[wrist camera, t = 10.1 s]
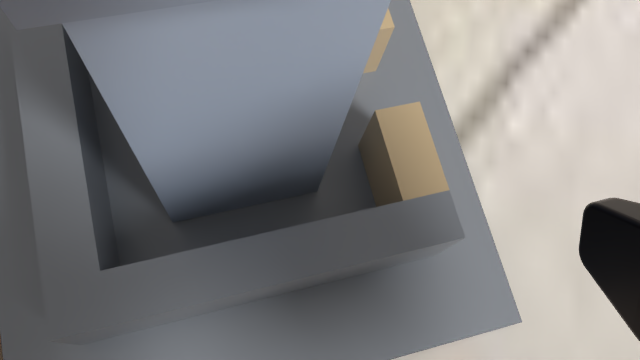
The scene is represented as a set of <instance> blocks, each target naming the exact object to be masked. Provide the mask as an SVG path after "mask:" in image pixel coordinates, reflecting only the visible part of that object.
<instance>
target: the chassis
mask: <svg viewBox="0 0 640 360" xmlns="http://www.w3.org/2000/svg"><path fill="white" fill-rule="evenodd" d="M521 322H522V320H521V317H520V314H519V312H518V309H517V306H516V303H515V300H514V297H513V294H512V292H511V289H510V286H509V283H508V280H507V277H506V274H505V272H504V269H503V266H502V263H501V260H500V257H499V254H498V252H497V249H496V246H495V243H494V240H493V237H492V234H491V232H490V229H489V226H488V223H487V220H486V217H485V214H484V212H483V209H482V206H481V203H480V200H479V197H478V194H477V192H476V189H475V186H474V183H473V180H472V177H471V174H470V172H469V169H468V166H467V163H466V160H465V157H464V154H463V152H462V149H461V146H460V143H459V140H458V137H457V134H456V132H455V129H454V126H453V123H452V120H451V117H450V114H449V112H448V109H447V106H446V103H445V100H444V97H443V94H442V91H441V89H440V86H439V83H438V80H437V77H436V74H435V71H434V69H433V66H432V63H431V60H430V57H429V54H428V51H427V49H426V46H425V43H424V40H423V37H422V34H421V31H420V29H419V26H418V23H417V20H416V17H415V14H414V11H413V9H412V6H411V3H410V0H391V1H390V4H389V7H388V9H387V12H386V14H385V17H384V20H383V22H382V25H381V27H380V30H379V33H378V35H377V38H376V40H375V43H374V46H373V48H372V51H371V53H370V56H369V59H368V61H367V64H366V66H365V69H364V72H363V74H362V77H361V79H360V82H359V85H358V87H357V90H356V92H355V95H354V98H353V100H352V103H351V105H350V108H349V111H348V113H347V116H346V118H345V121H344V124H343V126H342V129H341V131H340V134H339V137H338V139H337V142H336V144H335V147H334V150H333V152H332V155H331V157H330V160H329V163H328V165H327V168H326V170H325V173H324V176H323V178H322V181H321V183H320V186H319V188H318V191H317V192H313V193H308V194H303V195H299V196H294V197H290V198H285V199H280V200H276V201H271V202H266V203H262V204H257V205H252V206H248V207H243V208H238V209H234V210H229V211H225V212H220V213H215V214H211V215H206V216H201V217H197V218H192V219H187V220H183V221H178V222H172V221H171V219H170V217H169V215H168V213H167V212H166V210H165V208H164V206H163V204H162V203H161V201H160V199H159V197H158V195H157V194H156V192H155V190H154V188H153V186H152V185H151V183H150V181H149V179H148V177H147V176H146V174H145V172H144V170H143V168H142V167H141V165H140V163H139V161H138V159H137V158H136V156H135V154H134V152H133V150H132V149H131V147H130V145H129V143H128V141H127V140H126V138H125V136H124V134H123V132H122V131H121V129H120V127H119V125H118V123H117V122H116V120H115V118H114V116H113V115H112V113H111V111H110V109H109V107H108V106H107V104H106V102H105V100H104V98H103V97H102V95H101V93H100V91H99V89H98V88H97V86H96V84H95V82H94V80H93V79H92V77H91V75H90V73H89V71H88V70H87V68H86V66H85V64H84V62H83V61H82V59H81V57H80V55H79V53H78V52H77V50H76V48H75V46H74V44H73V43H72V41H71V39H70V37H69V35H68V34H67V32H66V30H65V28H64V26H63V25H62V24H55V25H48V26H41V27H35V28H28V29H21V30H16V28H15V27H14V26H13V24H12V23H11V21H10V20H9V19H8V17H7V16H6V14H5V13H4V11H3V10H2V9H1V7H0V335H1V344H2V354H3V360H391V359H394V358H398V357H401V356H405V355H408V354H412V353H415V352H419V351H422V350H426V349H429V348H433V347H436V346H440V345H443V344H447V343H450V342H454V341H457V340H461V339H464V338H468V337H472V336H475V335H479V334H482V333H486V332H489V331H493V330H496V329H500V328H503V327H507V326H510V325H514V324H517V323H521Z"/></svg>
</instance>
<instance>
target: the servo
mask: <svg viewBox="0 0 640 360" xmlns="http://www.w3.org/2000/svg"><path fill="white" fill-rule="evenodd" d="M390 1H391V0H0V7H1V9H2V10H3V11H4V13H5V14H6V16H7V17H8V19H9V20H10V21H11V23H12V24H13V26H14V27H15V28H16V30H21V29H28V28H35V27H41V26H48V25H55V24H62V25H63V26H64V28H65V30H66V32H67V34H68V35H69V37H70V39H71V41H72V43H73V44H74V46H75V48H76V50H77V52H78V53H79V55H80V57H81V59H82V61H83V62H84V64H85V66H86V68H87V70H88V71H89V73H90V75H91V77H92V79H93V80H94V82H95V84H96V86H97V88H98V89H99V91H100V93H101V95H102V97H103V98H104V100H105V102H106V104H107V106H108V107H109V109H110V111H111V113H112V115H113V116H114V118H115V120H116V122H117V123H118V125H119V127H120V129H121V131H122V132H123V134H124V136H125V138H126V140H127V141H128V143H129V145H130V147H131V149H132V150H133V152H134V154H135V156H136V158H137V159H138V161H139V163H140V165H141V167H142V168H143V170H144V172H145V174H146V176H147V177H148V179H149V181H150V183H151V185H152V186H153V188H154V190H155V192H156V194H157V195H158V197H159V199H160V201H161V203H162V204H163V206H164V208H165V210H166V212H167V213H168V215H169V217H170V219H171V221H172V222H178V221H183V220H187V219H192V218H197V217H201V216H206V215H211V214H215V213H220V212H225V211H229V210H234V209H238V208H243V207H248V206H252V205H257V204H262V203H266V202H271V201H276V200H280V199H285V198H290V197H294V196H299V195H303V194H308V193H313V192H317V191H318V188H319V186H320V183H321V181H322V178H323V176H324V173H325V170H326V168H327V165H328V163H329V160H330V157H331V155H332V152H333V150H334V147H335V144H336V142H337V139H338V137H339V134H340V131H341V129H342V126H343V124H344V121H345V118H346V116H347V113H348V111H349V108H350V105H351V103H352V100H353V98H354V95H355V92H356V90H357V87H358V85H359V82H360V79H361V77H362V74H363V72H364V69H365V66H366V64H367V61H368V59H369V56H370V53H371V51H372V48H373V46H374V43H375V40H376V38H377V35H378V33H379V30H380V27H381V25H382V22H383V20H384V17H385V14H386V12H387V9H388V7H389V4H390Z"/></svg>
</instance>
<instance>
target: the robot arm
mask: <svg viewBox="0 0 640 360" xmlns="http://www.w3.org/2000/svg"><path fill="white" fill-rule="evenodd" d="M579 255H580V258H581V261H582V263H583V265H584V266H585V268H586V269H587V270H588V272H589V273H590V274H591V276H592V277H593V279H594V280H595V281H596V283H597V284H598V285H599V287H600V288H601V290H602V291H603V292H604V294H605V295H606V296H607V298H608V299H609V301H610V302H611V303H612V305H613V306H614V307H615V309H616V310H617V312H618V313H619V314H620V316H621V317H622V318H623V320H624V321H625V323H626V324H627V325H628V327H629V328H630V329H631V331H632V332H633V333H634V335H635V336H636V337H637V339H638V340H639V341H640V203H636V202H632V201H627V200H623V199H619V198H608V199H604V200H600V201H596V202H592V203H590V204H588V205H587V206H586V208H585V210H584V213H583V220H582V227H581V235H580V243H579Z"/></svg>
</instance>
